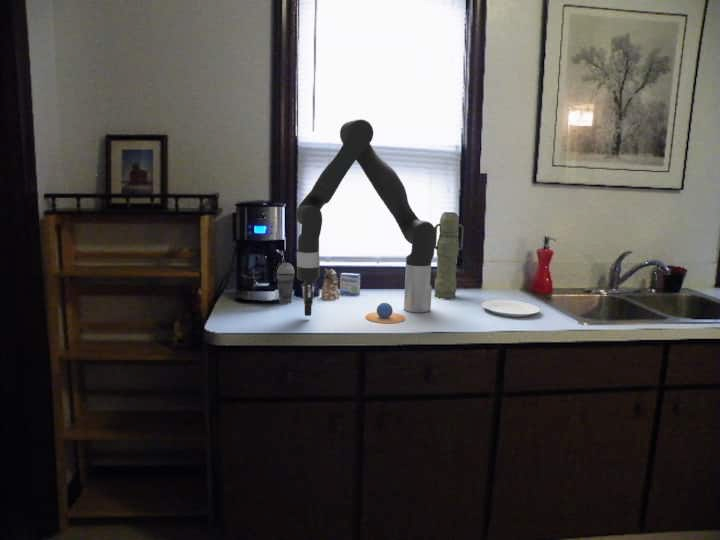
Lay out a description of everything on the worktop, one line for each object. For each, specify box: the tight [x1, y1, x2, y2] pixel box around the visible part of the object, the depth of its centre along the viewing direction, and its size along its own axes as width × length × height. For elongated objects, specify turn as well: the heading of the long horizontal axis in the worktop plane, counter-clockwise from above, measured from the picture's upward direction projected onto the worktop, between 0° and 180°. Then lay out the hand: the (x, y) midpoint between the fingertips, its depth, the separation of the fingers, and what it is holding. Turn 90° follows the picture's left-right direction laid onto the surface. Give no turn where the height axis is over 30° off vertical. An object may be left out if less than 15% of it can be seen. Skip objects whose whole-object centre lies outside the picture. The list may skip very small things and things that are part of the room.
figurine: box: [320, 268, 340, 301], centre depth 202 cm, size 7×7×12 cm
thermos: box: [434, 211, 465, 300], centre depth 208 cm, size 9×12×35 cm
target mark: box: [365, 311, 407, 325], centre depth 176 cm, size 14×14×1 cm
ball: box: [376, 302, 394, 319], centre depth 175 cm, size 6×6×6 cm
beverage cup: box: [275, 250, 296, 305], centre depth 192 cm, size 7×7×20 cm
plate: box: [481, 299, 541, 318], centre depth 189 cm, size 21×21×2 cm
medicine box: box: [339, 272, 361, 296], centre depth 210 cm, size 8×4×9 cm, turn 80°
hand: (307, 315), depth 171 cm, fingers closed
